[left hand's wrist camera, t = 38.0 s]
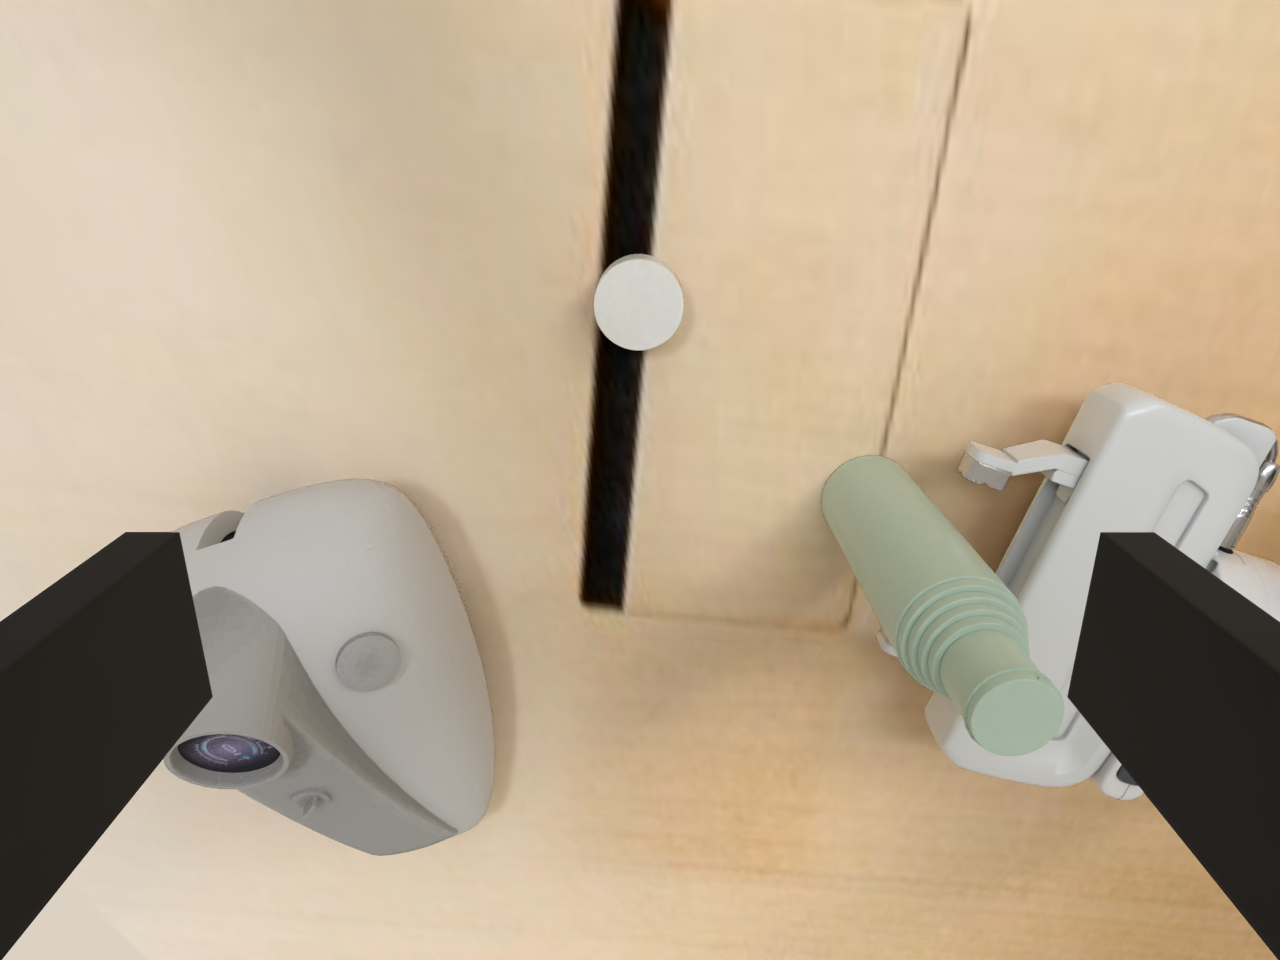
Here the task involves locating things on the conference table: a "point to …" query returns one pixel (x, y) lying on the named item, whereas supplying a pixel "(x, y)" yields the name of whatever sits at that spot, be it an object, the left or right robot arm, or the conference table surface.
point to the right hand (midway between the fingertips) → (923, 548)
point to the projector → (338, 669)
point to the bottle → (941, 606)
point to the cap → (638, 302)
